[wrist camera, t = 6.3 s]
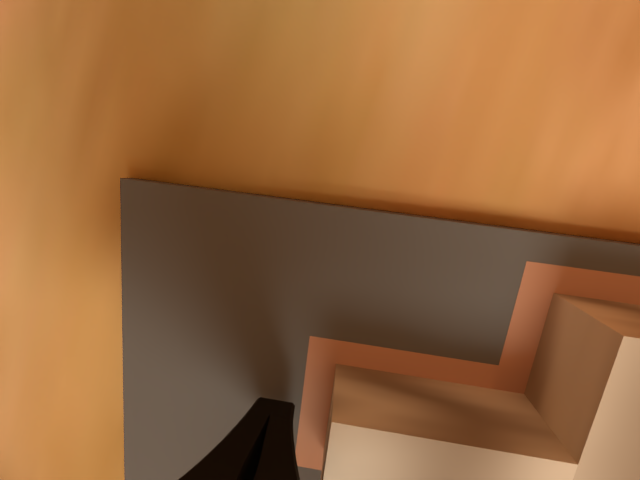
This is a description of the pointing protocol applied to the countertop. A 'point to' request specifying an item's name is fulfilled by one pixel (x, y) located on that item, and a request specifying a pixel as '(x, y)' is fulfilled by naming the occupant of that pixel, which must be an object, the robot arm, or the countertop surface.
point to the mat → (322, 309)
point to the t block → (502, 411)
